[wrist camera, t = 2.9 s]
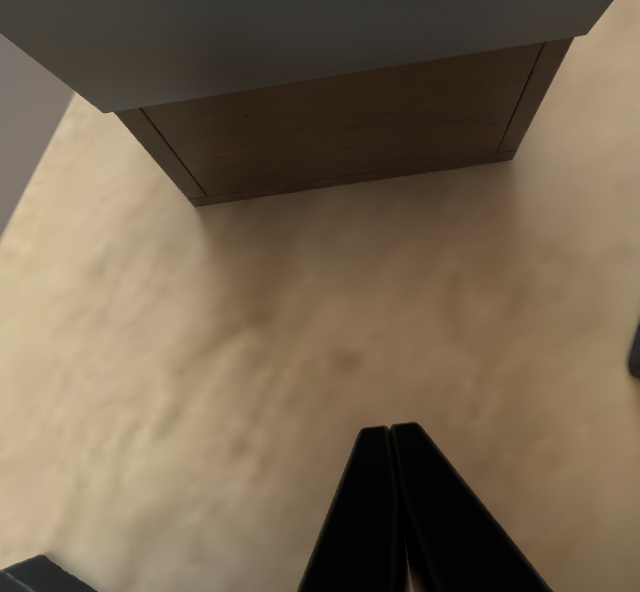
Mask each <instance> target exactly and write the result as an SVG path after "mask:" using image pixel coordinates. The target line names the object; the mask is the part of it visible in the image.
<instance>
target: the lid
mask: <svg viewBox="0 0 640 592" xmlns="http://www.w3.org/2000/svg"><path fill="white" fill-rule="evenodd" d="M612 2H613V0H0V33H1V34H3V35H4V36H5V37H6V38H8V39H9V40H10V41H11V42H13V43H14V44H15V45H17V46H18V47H19V48H20V49H22V50H23V51H24V52H26V53H27V54H28V55H29V56H31V57H32V58H33V59H35V60H36V61H37V62H38V63H40V64H41V65H42V66H44V67H45V68H46V69H47V70H49V71H50V72H51V73H52V74H54V75H55V76H56V77H58V78H59V79H60V80H62V81H63V82H64V83H65V84H67V85H68V86H69V87H71V88H72V89H73V90H74V91H76V92H77V93H78V94H79V95H81V96H82V97H83V98H85V99H86V100H87V101H88V102H90V103H91V104H92V105H94V106H95V107H96V108H97V109H99V110H100V111H101V112H102V113H110V112H116V111H122V110H128V109H134V108H140V107H146V106H153V105H159V104H165V103H171V102H177V101H183V100H189V99H196V98H202V97H208V96H214V95H220V94H226V93H232V92H239V91H245V90H251V89H257V88H263V87H269V86H275V85H282V84H288V83H294V82H300V81H306V80H312V79H318V78H325V77H331V76H337V75H343V74H349V73H355V72H361V71H368V70H374V69H380V68H386V67H392V66H398V65H405V64H411V63H417V62H423V61H429V60H435V59H441V58H448V57H454V56H460V55H466V54H472V53H478V52H484V51H491V50H497V49H503V48H509V47H515V46H521V45H527V44H534V43H540V42H546V41H552V40H558V39H564V38H570V37H577V36H583V35H586V34H588V32H589V31H590V30H591V28H592V27H593V26H594V25H595V23H596V22H597V21H598V20H599V18H600V17H601V16H602V14H603V13H604V12H605V11H606V9H607V8H608V7H609V6H610V4H611V3H612Z"/></svg>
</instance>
